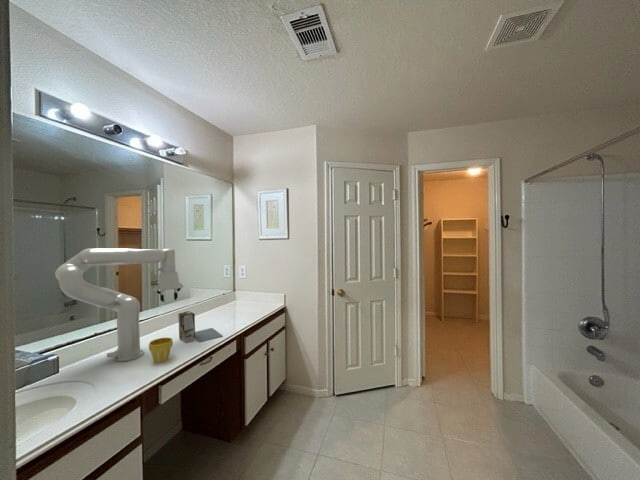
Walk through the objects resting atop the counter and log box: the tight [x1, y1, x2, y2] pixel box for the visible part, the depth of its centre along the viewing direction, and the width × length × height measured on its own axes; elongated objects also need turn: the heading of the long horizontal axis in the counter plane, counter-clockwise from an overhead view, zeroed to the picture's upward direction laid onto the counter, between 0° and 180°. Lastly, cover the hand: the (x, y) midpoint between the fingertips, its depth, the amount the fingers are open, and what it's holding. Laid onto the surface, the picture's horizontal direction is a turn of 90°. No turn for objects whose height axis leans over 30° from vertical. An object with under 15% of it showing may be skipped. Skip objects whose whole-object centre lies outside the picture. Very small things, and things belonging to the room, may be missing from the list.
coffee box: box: [177, 311, 196, 344], centre depth 163 cm, size 9×6×16 cm
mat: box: [195, 327, 224, 343], centre depth 170 cm, size 14×20×1 cm
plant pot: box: [148, 337, 174, 364], centre depth 136 cm, size 10×10×10 cm
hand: (169, 300), depth 157 cm, fingers open, 5 cm apart
